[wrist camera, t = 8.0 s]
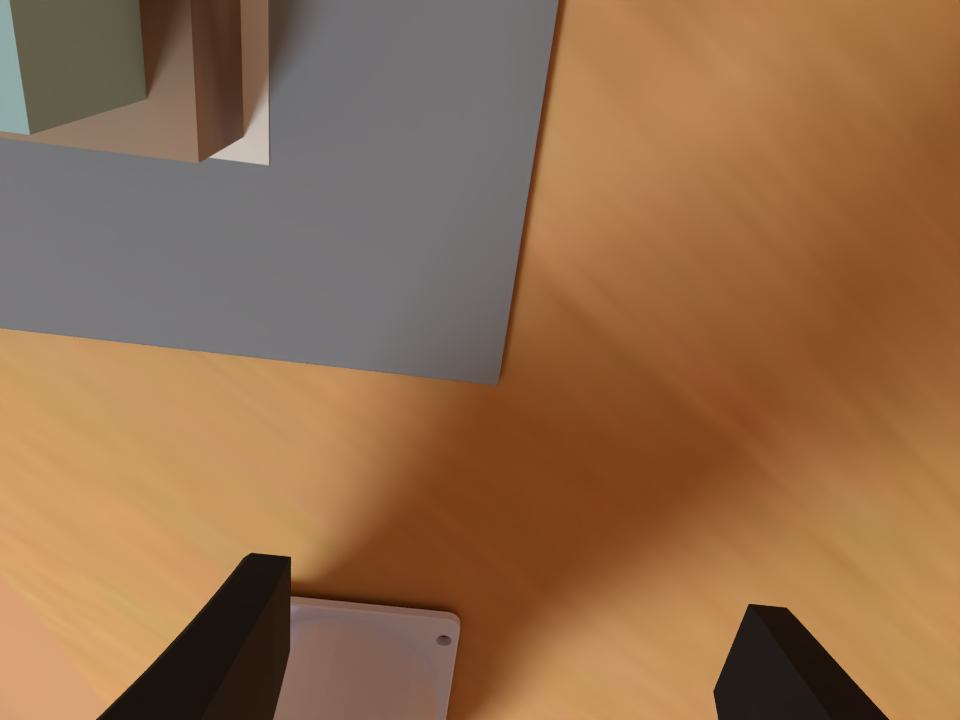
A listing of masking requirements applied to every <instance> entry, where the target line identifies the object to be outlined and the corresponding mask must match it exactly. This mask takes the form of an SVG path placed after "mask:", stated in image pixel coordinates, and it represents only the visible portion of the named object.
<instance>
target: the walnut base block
mask: <svg viewBox="0 0 960 720" xmlns="http://www.w3.org/2000/svg"><path fill="white" fill-rule="evenodd" d="M139 7H140V20H141V33H142V45H143V58H144V71H145V83H146V96H147V99H146V100H142V101H139V102H136V103H132V104H129V105H126V106H123V107H119V108H116V109H113V110H110V111H106V112H103V113H100V114H97V115H93V116H90V117H87V118H84V119H80V120H77V121H74V122H71V123H67V124H64V125H61V126H57V127H54V128H51V129H48V130H44V131H41V132H38V133H35V134H31V135H26V134H19V133H11V132H4V131H0V138H6V139H14V140H22V141H29V142H37V143H45V144H53V145H61V146H69V147H76V148H84V149H92V150H100V151H108V152H115V153H123V154H131V155H139V156H147V157H154V158H162V159H170V160H178V161H186V162H194V163H200V162H202V161H203V160H205V159H207V158H208V157H210V156H212V155H214V154H215V153H217V152H219V151H220V150H222V149H224V148H226V147H227V146H229V145H231V144H232V143H234V142H236V141H238V140H239V139H241V138H243V137H244V128H243V87H242V45H241V3H240V0H139Z"/></svg>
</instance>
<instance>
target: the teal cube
mask: <svg viewBox="0 0 960 720" xmlns="http://www.w3.org/2000/svg"><path fill="white" fill-rule="evenodd" d="M146 99H147V96H146V83H145V71H144V58H143V45H142V33H141V20H140V7H139V0H0V131H4V132H11V133H19V134H26V135H31V134H35V133H38V132H41V131H44V130H48V129H51V128H54V127H57V126H61V125H64V124H67V123H71V122H74V121H77V120H80V119H84V118H87V117H90V116H93V115H97V114H100V113H103V112H106V111H110V110H113V109H116V108H119V107H123V106H126V105H129V104H132V103H136V102H139V101H142V100H146Z"/></svg>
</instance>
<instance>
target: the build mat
mask: <svg viewBox="0 0 960 720" xmlns="http://www.w3.org/2000/svg"><path fill="white" fill-rule="evenodd" d="M558 2H559V0H240V3H241V45H242V87H243V128H244V137H243V138H241V139H239V140H238V141H236V142H234V143H232V144H231V145H229V146H227V147H226V148H224V149H222V150H220V151H219V152H217V153H215V154H214V155H212V156H210V157H208V158H207V159H205V160H203V161H202V162H200V163H194V162H186V161H178V160H170V159H162V158H154V157H147V156H139V155H131V154H123V153H115V152H108V151H100V150H92V149H84V148H76V147H69V146H61V145H53V144H45V143H37V142H29V141H22V140H14V139H6V138H0V328H3V329H12V330H21V331H29V332H38V333H47V334H55V335H64V336H73V337H81V338H90V339H99V340H107V341H116V342H125V343H133V344H142V345H151V346H159V347H168V348H176V349H185V350H194V351H202V352H211V353H220V354H228V355H237V356H246V357H254V358H263V359H272V360H280V361H289V362H298V363H306V364H315V365H324V366H332V367H341V368H350V369H358V370H367V371H376V372H384V373H393V374H402V375H410V376H419V377H428V378H436V379H445V380H454V381H462V382H471V383H480V384H488V385H497V386H498V382H499V376H500V370H501V363H502V357H503V351H504V344H505V338H506V332H507V325H508V319H509V313H510V306H511V300H512V294H513V287H514V281H515V275H516V268H517V262H518V256H519V249H520V243H521V237H522V230H523V224H524V218H525V211H526V205H527V199H528V192H529V186H530V180H531V173H532V167H533V161H534V154H535V148H536V142H537V135H538V129H539V123H540V116H541V110H542V103H543V97H544V91H545V84H546V78H547V72H548V65H549V59H550V53H551V46H552V40H553V34H554V27H555V21H556V15H557V8H558Z"/></svg>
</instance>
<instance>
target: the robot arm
mask: <svg viewBox="0 0 960 720" xmlns="http://www.w3.org/2000/svg"><path fill="white" fill-rule="evenodd" d="M459 634H460V619H459V618H458V616H456V615H455V614H453V613H450V612H444V611H434V610H424V609H414V608H404V607H394V606H384V605H374V604H364V603H354V602H344V601H334V600H324V599H314V598H304V597H294V596H291V557H286V556H277V555H267V554H257V553H250V554H249V555H247V556H246V557H244V558H243V559H242V561H241V562H240V563H239V565H238V566H237V567H236V569H235V570H234V571H233V572H232V574H231V575H230V576H229V577H228V579H227V580H226V581H225V582H224V584H223V585H222V586H221V587H220V588H219V590H218V591H217V592H216V593H215V594H214V596H213V597H212V598H211V599H210V600H209V602H208V603H207V604H206V605H205V606H204V607H203V609H202V610H201V611H200V612H199V613H198V614H197V615H196V617H195V618H194V619H193V620H192V621H191V622H190V623H189V625H188V626H187V627H186V628H185V629H184V630H183V631H182V632H181V633H180V634H179V635H178V637H177V638H176V639H175V640H174V641H173V642H172V643H171V644H170V645H169V646H168V647H167V649H166V650H165V651H164V652H163V653H162V654H161V655H160V656H159V657H158V658H157V659H156V660H155V662H154V663H153V664H152V665H151V666H150V667H149V668H148V669H147V670H146V671H145V672H144V673H143V674H142V675H141V676H140V677H139V678H138V679H137V680H136V681H135V682H134V683H133V684H132V685H131V686H130V687H129V688H128V689H127V690H126V691H125V692H124V693H123V694H122V695H121V696H120V697H119V698H118V699H117V700H116V701H115V702H114V703H113V704H112V705H111V706H110V707H109V708H108V709H107V710H106V711H105V712H104V713H103V714H102V715H101V716H99V717H98V718H97V719H96V720H446V716H447V710H448V703H449V697H450V691H451V684H452V678H453V672H454V665H455V659H456V653H457V646H458V640H459ZM442 635H445V636H448V637H442ZM713 692H714V698H715V703H716V709H717V714H718V720H889V719H888V718H887V717H886V716H885V715H884V714H883V712H882V711H881V710H880V709H879V708H878V707H877V706H876V705H875V704H874V703H873V702H872V701H871V699H870V698H869V697H868V696H867V695H866V694H865V693H864V692H863V691H862V690H861V689H860V688H859V686H858V685H857V684H856V683H855V682H854V681H853V680H852V679H851V678H850V676H849V675H848V674H847V673H846V672H845V671H844V670H843V669H842V668H841V667H840V665H839V664H838V663H837V662H836V661H835V660H834V659H833V658H832V657H831V655H830V654H829V653H828V652H827V651H826V650H825V649H824V648H823V647H822V645H821V644H820V643H819V642H818V641H817V640H816V639H815V638H814V637H813V636H812V634H811V633H810V632H809V631H808V630H807V629H806V628H805V627H804V626H803V625H802V624H801V622H800V621H799V620H798V619H797V618H796V617H795V616H794V615H793V614H792V613H791V612H790V611H789V610H788V609H787V608H784V607H775V606H765V605H755V604H749V605H748V607H747V610H746V612H745V615H744V617H743V620H742V622H741V625H740V627H739V630H738V632H737V634H736V637H735V639H734V642H733V644H732V647H731V649H730V652H729V654H728V657H727V659H726V662H725V664H724V667H723V669H722V671H721V674H720V676H719V679H718V681H717V684H716V686H715V689H714V691H713Z"/></svg>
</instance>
